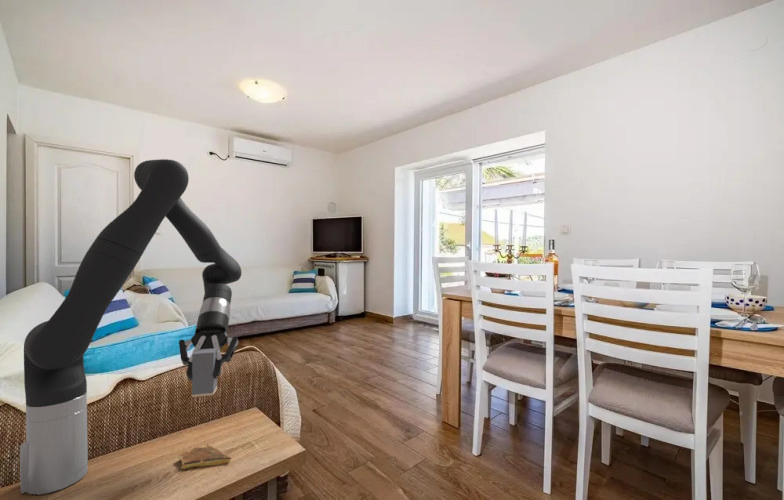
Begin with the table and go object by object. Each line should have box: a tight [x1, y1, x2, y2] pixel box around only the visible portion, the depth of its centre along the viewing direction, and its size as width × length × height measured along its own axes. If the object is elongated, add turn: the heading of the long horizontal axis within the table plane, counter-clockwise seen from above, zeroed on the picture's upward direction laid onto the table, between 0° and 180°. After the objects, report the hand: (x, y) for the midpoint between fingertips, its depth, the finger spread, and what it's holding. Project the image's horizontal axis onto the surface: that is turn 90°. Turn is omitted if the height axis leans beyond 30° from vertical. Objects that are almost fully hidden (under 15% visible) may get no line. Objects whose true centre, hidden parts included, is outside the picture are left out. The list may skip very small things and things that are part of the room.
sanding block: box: [191, 348, 218, 398], centre depth 85 cm, size 5×5×10 cm
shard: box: [177, 444, 232, 470], centre depth 79 cm, size 11×8×2 cm
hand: (203, 377), depth 83 cm, fingers closed on sanding block, 4 cm apart
